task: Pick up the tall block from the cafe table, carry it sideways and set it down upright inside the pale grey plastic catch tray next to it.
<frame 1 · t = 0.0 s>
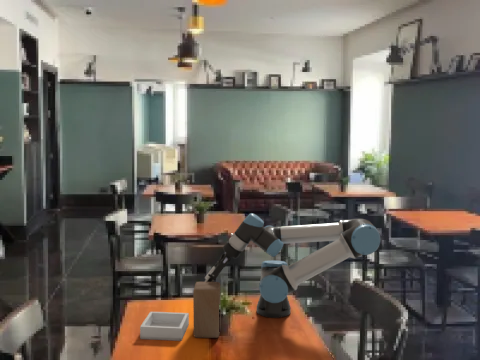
hand: (204, 284, 228), 16 cm above the table, tool tilted 35°, fingers open, 13 cm apart
catch tray: (165, 331, 217), on the table
block: (207, 333, 216), on the table, touching gripper
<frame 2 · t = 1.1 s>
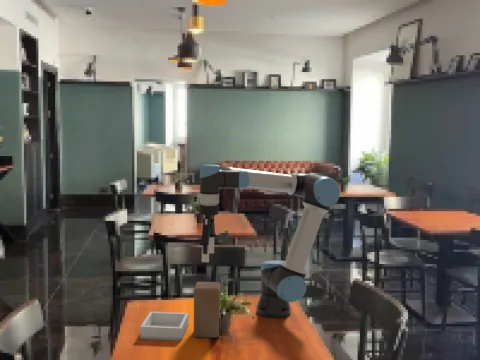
hand: (207, 257, 213), 31 cm above the table, tool pointing down, fingers open, 13 cm apart
block: (207, 333, 216), on the table
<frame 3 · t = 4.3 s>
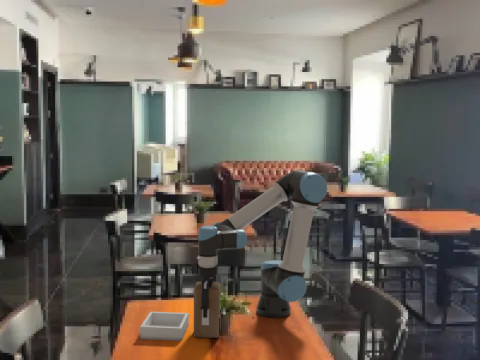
hand: (207, 319, 215), 6 cm above the table, tool pointing down, fingers closed on block, 10 cm apart
block: (207, 333, 216), on the table, touching gripper
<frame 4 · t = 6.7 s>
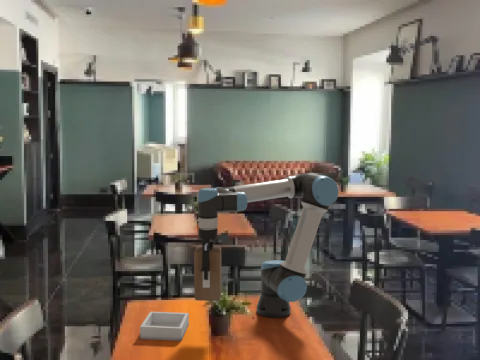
hand: (208, 282, 213), 21 cm above the table, tool pointing down, fingers closed on block, 10 cm apart
block: (208, 297, 214), point 15 cm above the table, touching gripper
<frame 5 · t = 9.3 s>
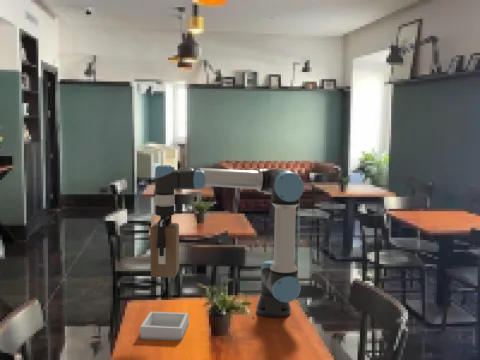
hand: (165, 260, 213), 30 cm above the table, tool pointing down, fingers closed on block, 10 cm apart
block: (165, 274, 214), point 24 cm above the table, touching gripper
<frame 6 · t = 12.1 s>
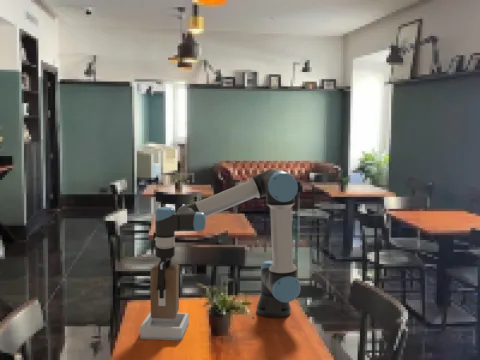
hand: (165, 300, 215), 13 cm above the table, tool pointing down, fingers closed on block, 10 cm apart
block: (164, 315, 216), point 7 cm above the table, touching gripper
when the fingers open (8 cm above the table, at t = 14.2 s): block drops 1 cm, resting on catch tray.
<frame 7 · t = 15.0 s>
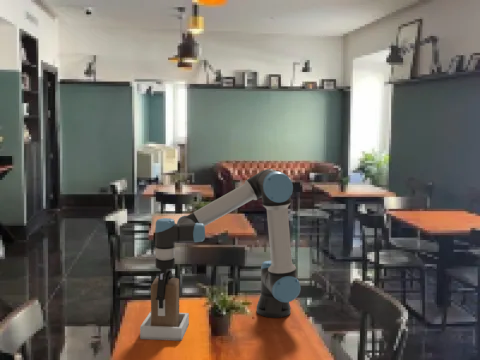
hand: (165, 309, 216), 9 cm above the table, tool pointing down, fingers open, 13 cm apart
block: (165, 329, 217), point 1 cm above the table, touching catch tray
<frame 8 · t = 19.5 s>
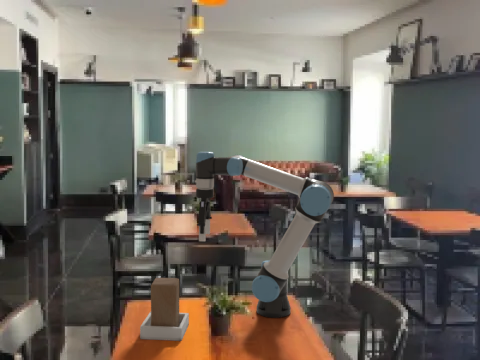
hand: (204, 237, 231), 35 cm above the table, tool pointing down, fingers open, 13 cm apart
nothing on the table moved.
at the end: block inside the target area on the catch tray (0.0 cm from its centre), point 0.8 cm above the catch tray's base; block tilted 0°; the gripper is holding nothing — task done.
